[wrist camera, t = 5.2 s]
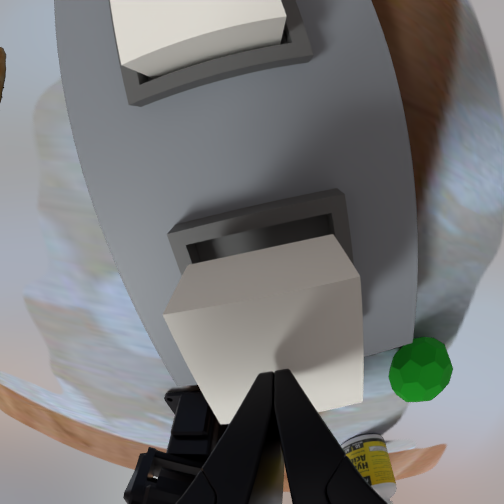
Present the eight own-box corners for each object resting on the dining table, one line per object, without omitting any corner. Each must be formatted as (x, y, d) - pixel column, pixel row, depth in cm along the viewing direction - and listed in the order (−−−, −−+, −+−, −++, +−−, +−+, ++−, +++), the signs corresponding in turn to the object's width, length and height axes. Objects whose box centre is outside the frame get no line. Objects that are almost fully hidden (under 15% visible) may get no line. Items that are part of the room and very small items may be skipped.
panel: (389, 305, 18) (420, 356, 13) (189, 344, 20) (172, 400, 15) (312, -55, 9) (327, -103, 4) (89, 7, 11) (41, -17, 6)
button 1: (345, 346, 11) (362, 401, 9) (227, 368, 12) (220, 424, 9) (333, 233, 9) (360, 276, 7) (187, 265, 10) (162, 314, 7)
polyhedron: (426, 366, 21) (447, 406, 16) (376, 376, 21) (392, 421, 16) (443, 320, 19) (472, 360, 14) (389, 328, 19) (413, 375, 14)
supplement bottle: (359, 429, 24) (377, 511, 15) (392, 434, 25) (413, 506, 16) (326, 453, 26) (335, 528, 17) (360, 457, 27) (373, 524, 18)
